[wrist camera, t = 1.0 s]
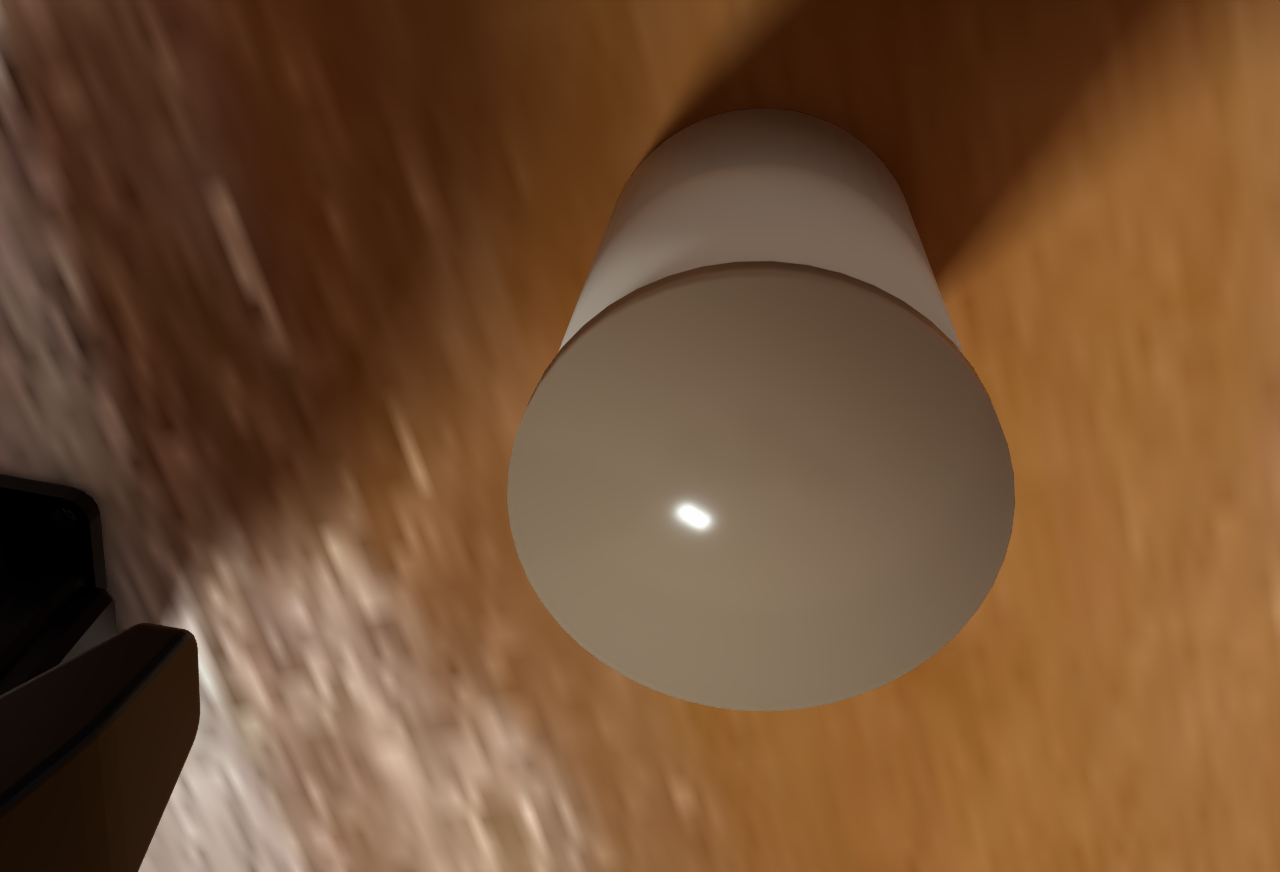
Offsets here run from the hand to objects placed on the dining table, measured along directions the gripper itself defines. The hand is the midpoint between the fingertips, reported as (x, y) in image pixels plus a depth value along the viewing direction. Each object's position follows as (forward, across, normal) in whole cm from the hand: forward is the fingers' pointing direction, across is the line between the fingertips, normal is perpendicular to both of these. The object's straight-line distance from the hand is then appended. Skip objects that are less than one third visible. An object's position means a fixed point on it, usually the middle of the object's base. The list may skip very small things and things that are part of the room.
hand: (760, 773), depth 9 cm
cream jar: (+12, 0, 0) cm, 12 cm away
